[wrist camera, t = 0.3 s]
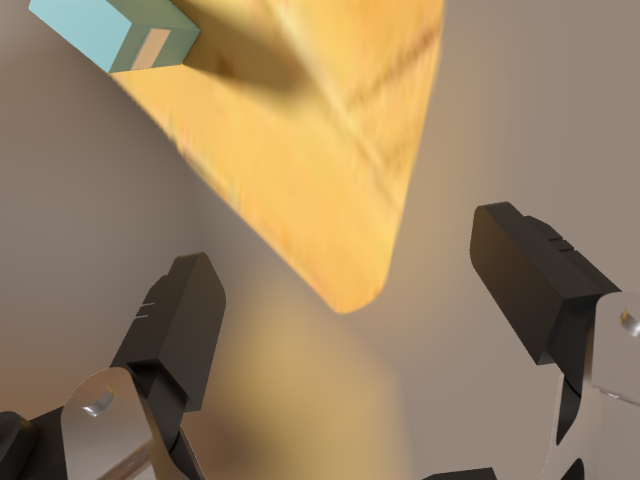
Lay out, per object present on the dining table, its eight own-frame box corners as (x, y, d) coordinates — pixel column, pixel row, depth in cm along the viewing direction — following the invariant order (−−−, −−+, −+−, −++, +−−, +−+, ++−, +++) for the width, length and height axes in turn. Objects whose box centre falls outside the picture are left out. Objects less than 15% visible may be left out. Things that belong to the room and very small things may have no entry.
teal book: (149, -19, 30) (47, -51, 20) (202, 31, 32) (134, 25, 21) (131, 20, 32) (28, 8, 21) (182, 65, 33) (109, 74, 23)
